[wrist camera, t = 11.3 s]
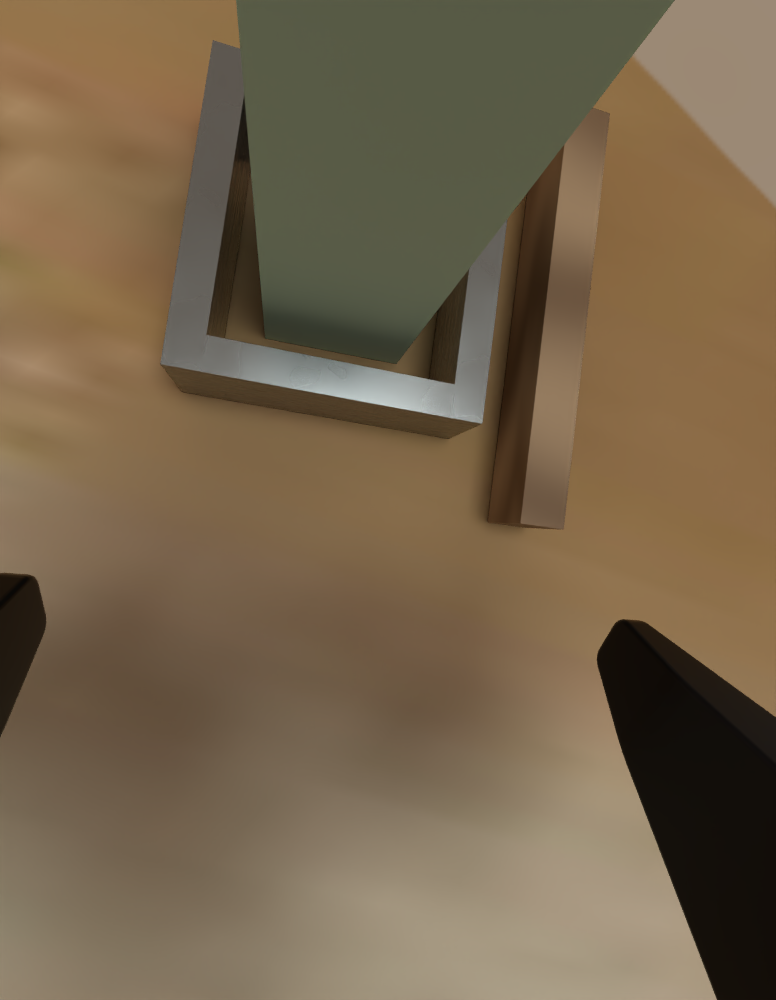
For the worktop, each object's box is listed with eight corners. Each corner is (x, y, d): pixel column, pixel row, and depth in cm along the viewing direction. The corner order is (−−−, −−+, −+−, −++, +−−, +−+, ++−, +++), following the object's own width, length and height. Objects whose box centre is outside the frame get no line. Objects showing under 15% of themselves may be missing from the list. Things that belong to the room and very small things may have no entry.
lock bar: (396, 363, 17) (825, -197, 4) (265, 338, 16) (190, -538, 3) (411, 240, 18) (864, -707, 4) (283, 208, 17) (296, -1172, 3)
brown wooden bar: (525, 527, 18) (563, 529, 16) (487, 522, 18) (520, 523, 15) (567, 164, 19) (609, 113, 17) (531, 153, 19) (569, 99, 16)
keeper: (448, 438, 18) (482, 423, 15) (182, 392, 16) (160, 364, 13) (479, 197, 18) (517, 136, 15) (225, 125, 16) (212, 40, 13)
